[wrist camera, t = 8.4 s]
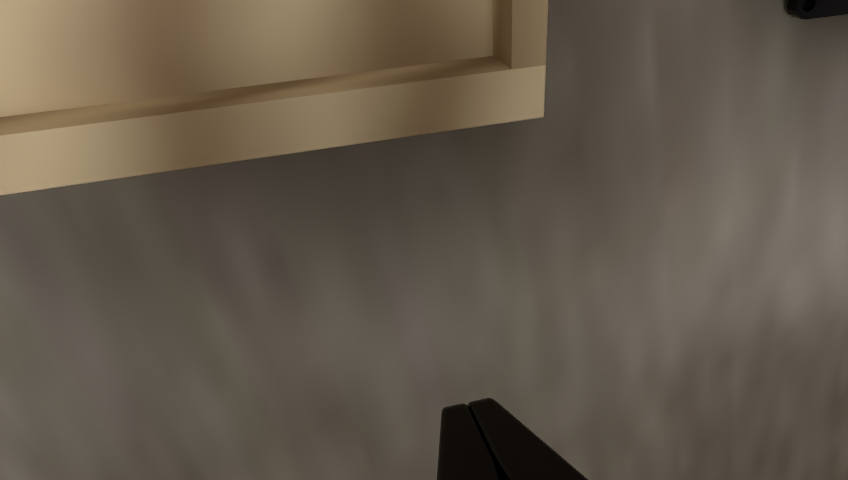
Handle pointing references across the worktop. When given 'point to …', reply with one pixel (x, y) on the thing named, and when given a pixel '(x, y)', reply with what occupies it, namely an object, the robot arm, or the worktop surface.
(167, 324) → the worktop surface
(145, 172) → the wooden tray
